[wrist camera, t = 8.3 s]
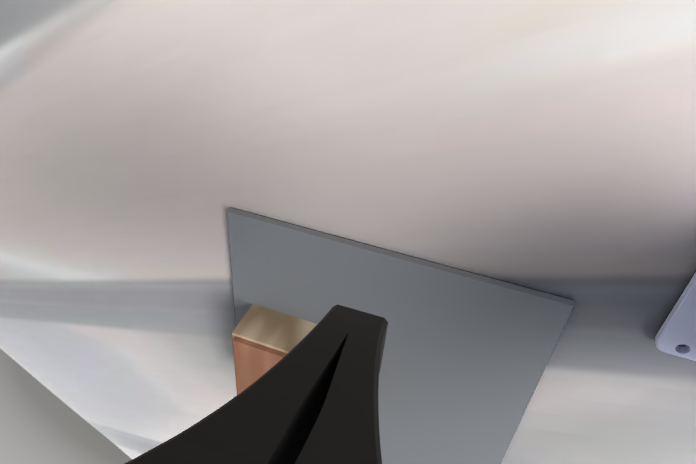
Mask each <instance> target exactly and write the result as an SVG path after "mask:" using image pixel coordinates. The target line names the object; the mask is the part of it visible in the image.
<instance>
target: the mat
mask: <svg viewBox="0 0 696 464" xmlns="http://www.w3.org/2000/svg"><path fill="white" fill-rule="evenodd" d="M227 222H228V235H229V247H230V260H231V272H232V285H233V297H234V310H235V322H236V326H237V325H238V323H239V322H240V321H241V319H242V318H243V317H244V315H245V314H246V313H247V311H248V310H249V309H250V307H251V306H252V305H253V304H256V305H259V306H262V307H265V308H268V309H271V310H275V311H278V312H281V313H284V314H287V315H290V316H294V317H297V318H300V319H303V320H306V321H309V322H312V323H316V324H318V323H319V322H320V321H321V320H322V319H323V318H324V316H325V315H326V314H327V313H328V312H329V311H330V309H331V308H332V307H333V306H335V305H337V304H338V305H341V306H345V307H349V308H352V309H356V310H359V311H363V312H366V313H370V314H373V315H377V316H380V317H384V318H385V319H386V320H387V322H388V327H387V333H386V339H385V345H384V350H383V356H382V362H381V368H380V372H379V388H378V411H379V433H380V447H381V457H382V464H501V462H502V460H503V458H504V455H505V453H506V451H507V449H508V447H509V445H510V443H511V440H512V438H513V436H514V434H515V432H516V430H517V428H518V425H519V423H520V421H521V419H522V417H523V415H524V413H525V410H526V408H527V406H528V404H529V402H530V400H531V397H532V395H533V393H534V391H535V389H536V387H537V385H538V382H539V380H540V378H541V376H542V374H543V372H544V370H545V367H546V365H547V363H548V361H549V359H550V357H551V355H552V352H553V350H554V348H555V346H556V344H557V342H558V340H559V337H560V335H561V333H562V331H563V329H564V327H565V324H566V322H567V320H568V318H569V316H570V314H571V312H572V309H573V307H574V300H570V299H566V298H563V297H559V296H555V295H551V294H548V293H544V292H540V291H537V290H533V289H529V288H526V287H522V286H518V285H515V284H511V283H507V282H503V281H500V280H496V279H492V278H489V277H485V276H481V275H478V274H474V273H470V272H467V271H463V270H459V269H455V268H452V267H448V266H444V265H441V264H437V263H433V262H430V261H426V260H422V259H419V258H415V257H411V256H407V255H404V254H400V253H396V252H393V251H389V250H385V249H382V248H378V247H374V246H371V245H367V244H363V243H359V242H356V241H352V240H348V239H345V238H341V237H337V236H334V235H330V234H326V233H323V232H319V231H315V230H312V229H308V228H304V227H300V226H297V225H293V224H289V223H286V222H282V221H278V220H275V219H271V218H267V217H264V216H260V215H256V214H252V213H249V212H245V211H241V210H238V209H234V208H230V209H229V210H228V211H227Z"/></svg>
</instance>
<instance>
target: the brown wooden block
mask: <svg viewBox="0 0 696 464" xmlns="http://www.w3.org/2000/svg"><path fill="white" fill-rule="evenodd" d="M316 325H317V324H316V323H312V322H309V321H306V320H303V319H300V318H297V317H294V316H290V315H287V314H284V313H281V312H278V311H275V310H271V309H268V308H265V307H262V306H259V305H256V304H253V305H252V306H251V307H250V309H249V310H248V311H247V313H246V314H245V315H244V317H243V318H242V319H241V321H240V322H239V323H238V325H237V326H236V327H235V329H234V330H233V332H232V341H233V352H234V363H235V375H236V386H237V395H238V394H240V393H241V392H242V391H244V390H245V389H246V388H248V387H249V386H250V385H251V384H253V383H254V382H255V381H256V380H258V379H259V378H260V377H261V376H262V375H264V374H265V373H266V372H267V371H268V370H270V369H271V368H272V367H273V366H274V365H275V364H277V363H278V362H279V361H280V360H281V359H282V358H283V357H284V356H285V355H287V354H288V353H289V352H290V351H291V350H292V349H293V348H294V347H295V346H296V345H297V344H298V343H299V342H300V341H301V340H302V339H303V338H304V337H305V336H306V335H307V334H308V333H309V332H310V331H311V330H312V329H313V328H314V327H315V326H316Z"/></svg>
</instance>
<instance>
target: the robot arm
mask: <svg viewBox="0 0 696 464" xmlns="http://www.w3.org/2000/svg"><path fill="white" fill-rule="evenodd" d="M387 327H388V322H387V320H386V319H385V318H384V317H380V316H377V315H373V314H370V313H366V312H363V311H359V310H356V309H352V308H349V307H345V306H341V305H338V304H337V305H335V306H333V307H332V308H331V309H330V311H329V312H328V313H327V314H326V315H325V316H324V318H323V319H322V320H321V321H320V322H319V323H318V324H317V325H316V326H315V327H314V328H313V329H312V330H311V331H310V332H309V333H308V334H307V335H306V336H305V337H304V338H303V339H302V340H301V341H300V342H299V343H298V344H297V345H296V346H295V347H294V348H293V349H292V350H291V351H290V352H289V353H288V354H287V355H285V356H284V357H283V358H282V359H281V360H280V361H279V362H278V363H277V364H275V365H274V366H273V367H272V368H271V369H270V370H268V371H267V372H266V373H265V374H264V375H262V376H261V377H260V378H259V379H258V380H256V381H255V382H254V383H253V384H251V385H250V386H249V387H248V388H246V389H245V390H244V391H242V392H241V393H240V394H238V395H237V396H236V397H234V398H233V399H232V400H230V401H229V402H227V403H226V404H225V405H223V406H222V407H220V408H219V409H218V410H216V411H215V412H213V413H211V414H210V415H208V416H207V417H205V418H204V419H202V420H201V421H199V422H198V423H196V424H195V425H193V426H191V427H190V428H188V429H187V430H185V431H183V432H182V433H180V434H178V435H177V436H175V437H173V438H171V439H169V440H168V441H166V442H164V443H162V444H160V445H159V446H157V447H155V448H153V449H151V450H149V451H148V452H146V453H144V454H142V455H140V456H139V457H137V458H135V459H133V460H131V461H129V462H127V463H125V464H382V457H381V447H380V433H379V411H378V388H379V372H380V368H381V362H382V356H383V350H384V345H385V339H386V333H387ZM655 344H656V347H657V348H658V349H659V350H660V351H662V352H664V353H668V354H671V355H675V356H678V357H682V358H685V359H689V360H692V361H696V272H695V274H694V276H693V277H692V279H691V280H690V282H689V284H688V285H687V287H686V288H685V290H684V292H683V293H682V295H681V296H680V298H679V300H678V301H677V303H676V304H675V306H674V308H673V309H672V311H671V312H670V314H669V316H668V317H667V319H666V320H665V322H664V323H663V325H662V327H661V328H660V330H659V331H658V333H657V335H656V336H655ZM681 344H684V345H686V346H684V347H678V345H681Z"/></svg>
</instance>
